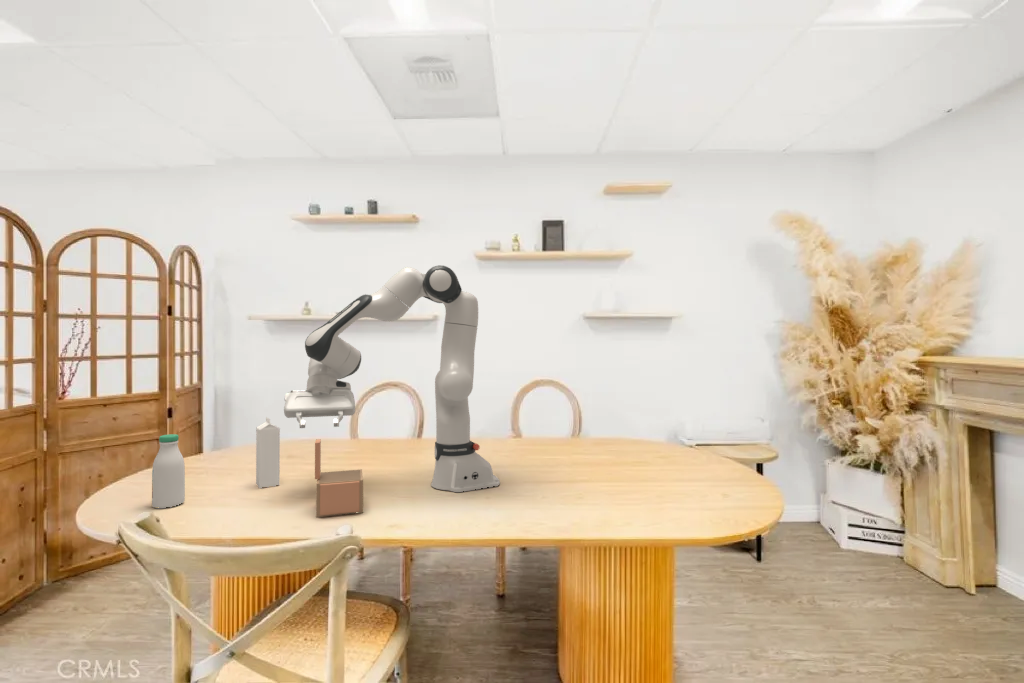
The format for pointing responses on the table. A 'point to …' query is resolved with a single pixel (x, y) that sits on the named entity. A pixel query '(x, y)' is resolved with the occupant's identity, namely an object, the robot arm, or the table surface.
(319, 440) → the flap
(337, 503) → the carton
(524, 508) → the table surface
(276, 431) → the milk
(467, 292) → the robot arm
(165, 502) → the milk bottle
